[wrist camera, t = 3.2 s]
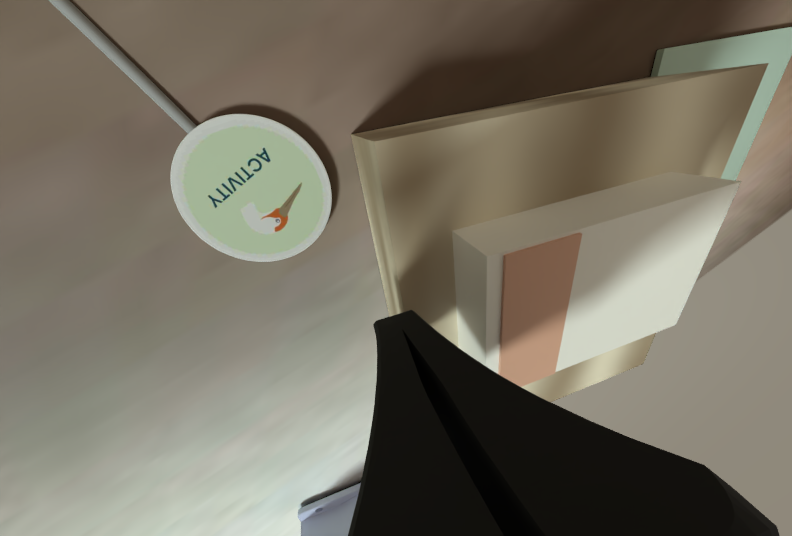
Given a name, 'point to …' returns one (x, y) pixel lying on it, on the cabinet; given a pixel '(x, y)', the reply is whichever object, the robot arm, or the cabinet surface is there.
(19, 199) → the cabinet surface
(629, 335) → the white striped box
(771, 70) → the mat
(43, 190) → the cabinet surface
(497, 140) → the cream piece
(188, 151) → the sign
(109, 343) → the cabinet surface
